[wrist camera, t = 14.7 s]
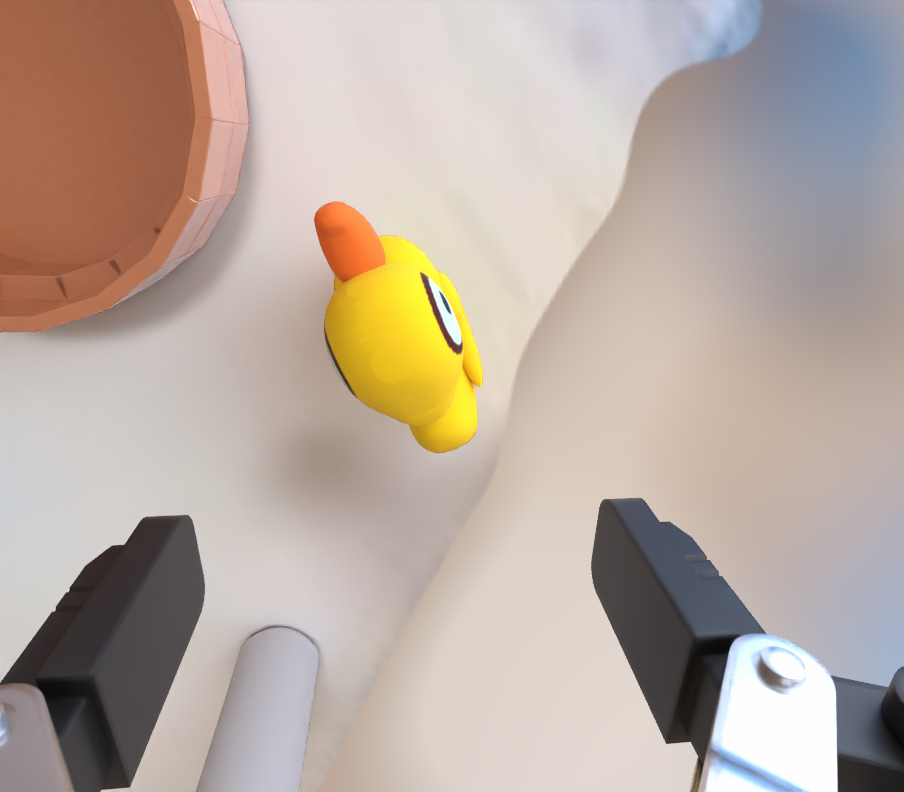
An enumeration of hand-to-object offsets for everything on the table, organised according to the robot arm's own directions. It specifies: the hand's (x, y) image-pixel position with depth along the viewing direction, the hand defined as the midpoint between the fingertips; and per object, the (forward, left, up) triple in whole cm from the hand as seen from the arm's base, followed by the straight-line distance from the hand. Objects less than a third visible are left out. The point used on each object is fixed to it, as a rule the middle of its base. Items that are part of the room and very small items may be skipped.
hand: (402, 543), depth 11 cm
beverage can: (-8, -22, -18) cm, 29 cm away
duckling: (0, 0, -18) cm, 18 cm away
